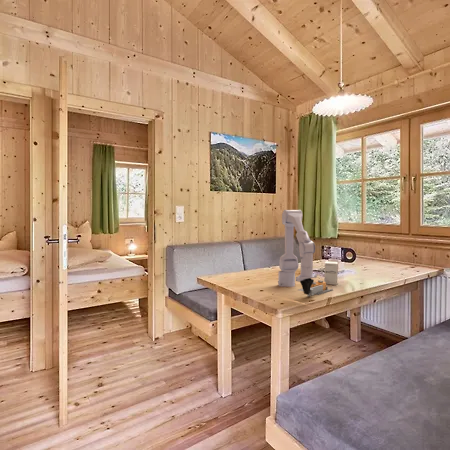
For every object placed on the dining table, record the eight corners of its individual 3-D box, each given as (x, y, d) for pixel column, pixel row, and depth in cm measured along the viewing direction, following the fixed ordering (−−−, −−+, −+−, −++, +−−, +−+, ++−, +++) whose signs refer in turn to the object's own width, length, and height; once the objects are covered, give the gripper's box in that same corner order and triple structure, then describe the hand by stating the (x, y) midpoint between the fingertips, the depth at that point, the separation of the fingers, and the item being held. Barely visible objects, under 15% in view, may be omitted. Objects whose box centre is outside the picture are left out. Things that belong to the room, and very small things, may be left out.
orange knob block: (321, 290, 166) (321, 282, 165) (315, 289, 169) (315, 280, 169) (325, 289, 168) (325, 281, 168) (319, 288, 171) (319, 279, 171)
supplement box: (323, 284, 184) (324, 262, 183) (324, 281, 191) (325, 260, 190) (337, 285, 181) (337, 263, 180) (337, 282, 188) (337, 261, 187)
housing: (318, 296, 158) (318, 292, 158) (297, 291, 168) (297, 287, 168) (333, 291, 167) (333, 287, 167) (312, 287, 177) (312, 283, 177)
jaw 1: (314, 292, 162) (314, 284, 161) (307, 291, 165) (308, 282, 164) (318, 291, 164) (319, 282, 164) (312, 290, 167) (312, 281, 167)
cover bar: (311, 296, 153) (311, 289, 153) (306, 295, 155) (306, 288, 155) (326, 292, 161) (326, 285, 161) (321, 291, 163) (321, 284, 163)
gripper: (304, 269, 146) (304, 298, 146) (322, 265, 155) (321, 292, 156) (292, 267, 151) (292, 295, 152) (310, 263, 160) (309, 290, 161)
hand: (306, 293), depth 154 cm, fingers closed
